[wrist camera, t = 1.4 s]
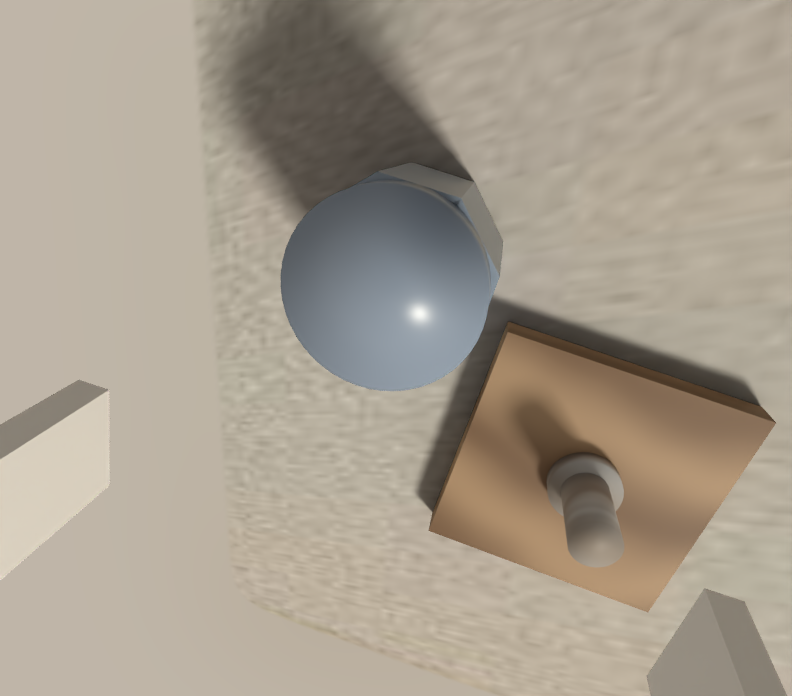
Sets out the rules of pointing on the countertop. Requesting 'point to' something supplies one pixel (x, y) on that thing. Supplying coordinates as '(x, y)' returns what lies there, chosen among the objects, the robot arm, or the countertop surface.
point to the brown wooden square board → (593, 466)
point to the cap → (393, 277)
